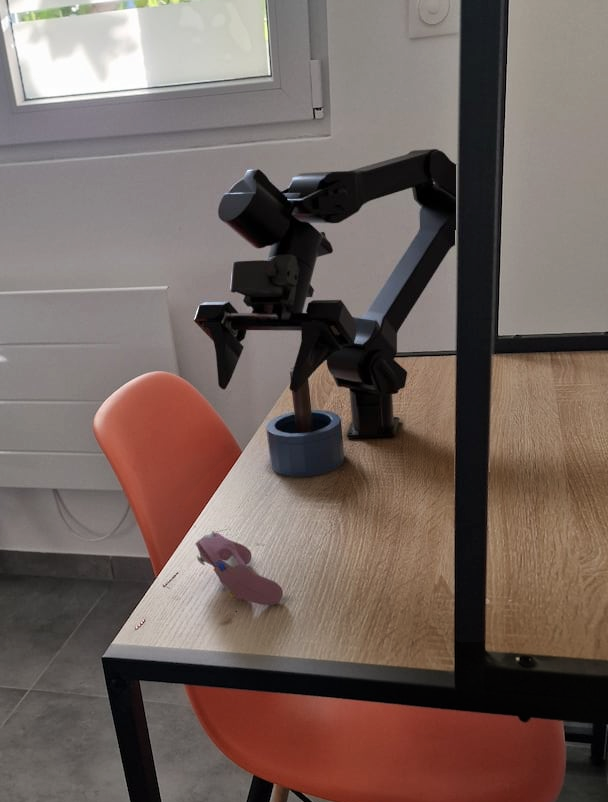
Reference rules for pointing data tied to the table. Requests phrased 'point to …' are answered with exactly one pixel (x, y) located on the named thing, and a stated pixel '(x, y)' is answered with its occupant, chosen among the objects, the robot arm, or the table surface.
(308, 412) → the brown peg with base
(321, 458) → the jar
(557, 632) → the table surface
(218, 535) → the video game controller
